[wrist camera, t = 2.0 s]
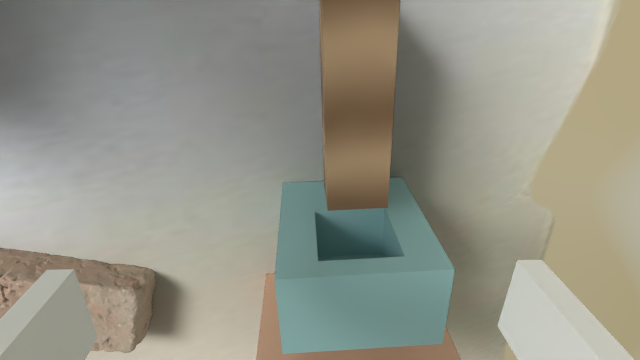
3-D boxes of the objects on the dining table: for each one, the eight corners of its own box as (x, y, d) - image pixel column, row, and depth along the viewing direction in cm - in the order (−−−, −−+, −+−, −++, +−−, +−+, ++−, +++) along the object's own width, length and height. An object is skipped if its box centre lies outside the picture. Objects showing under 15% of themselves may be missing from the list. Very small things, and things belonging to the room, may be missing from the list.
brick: (156, 265, 38) (138, 298, 33) (153, 323, 41) (136, 361, 37) (-23, 238, 35) (-67, 271, 31) (-10, 303, 39) (-48, 340, 35)
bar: (318, -10, 22) (322, -12, 19) (384, -12, 22) (401, -14, 19) (324, 183, 28) (327, 210, 24) (376, 181, 28) (387, 207, 24)
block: (283, 182, 34) (274, 279, 22) (402, 177, 34) (454, 269, 22) (287, 241, 37) (282, 353, 25) (397, 235, 37) (442, 343, 25)
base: (266, 274, 38) (250, 407, 26) (418, 265, 39) (475, 392, 26) (269, 296, 40) (255, 433, 27) (416, 287, 40) (469, 418, 28)
